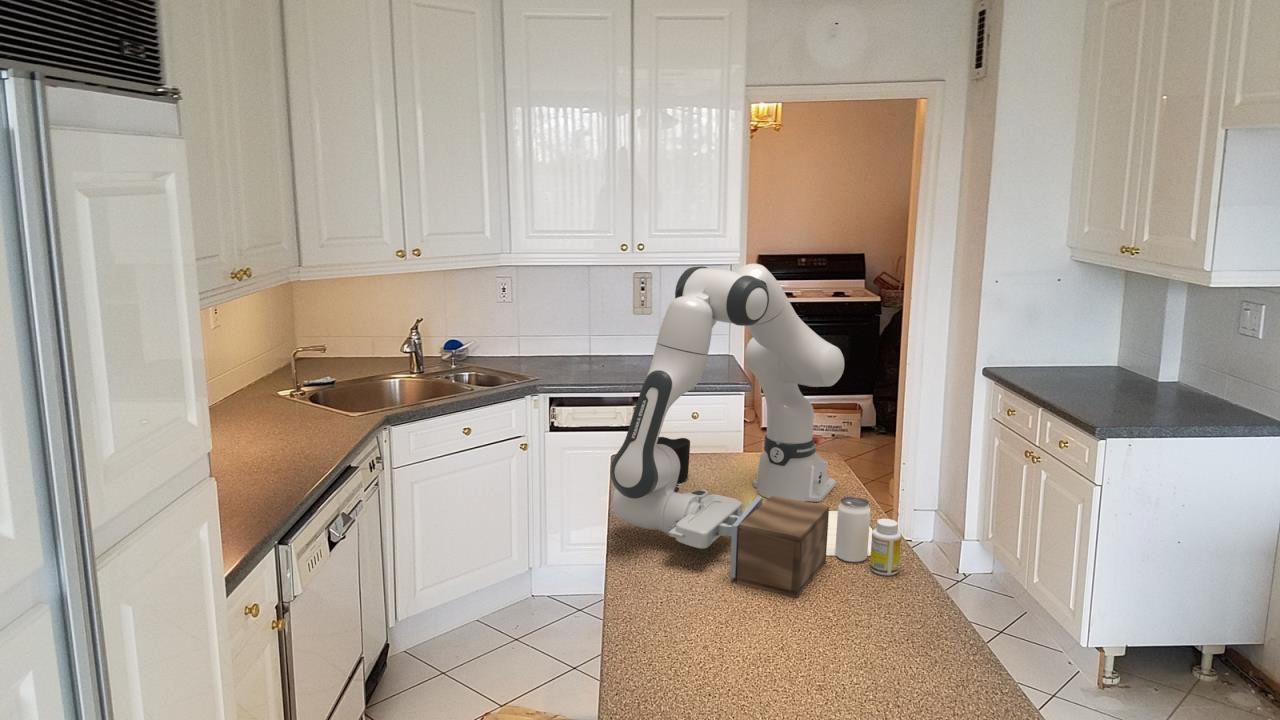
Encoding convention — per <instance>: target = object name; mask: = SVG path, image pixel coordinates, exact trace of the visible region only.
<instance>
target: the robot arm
mask: <svg viewBox="0 0 1280 720" xmlns="http://www.w3.org/2000/svg"><path fill="white" fill-rule="evenodd" d="M676 282H677V283H676V286H675V290H674V291H675V292H674V299H673V300H671V302H670V304H669V305H668V308H667V310H666V312H665V315H664V317H663V319H662V322H661V325H660V329H659V331H658V335H657V339H656V343H655V347H654V348H655V349H654V353H653V357H652V360H651V363H650V367H649V370H648V372H647V375H646V378H645V379H644V381H643V385H642V387H641V390H640V391H639V392H640V393H639V396H638V397H637V398H638V399H637V401H636V405H635V408H634V411H633V414H632V417H631V421H630V423H629V426H628V430H627V433H626V436H625V439H624V442H623V444H622V445H621V447H620V448H619V449H618V451H617V452H616V454H615V455H614V457H613V459H612V460H611V463H610V464H611V465H610V471H609V473H610V479H611V482H612V484H613V486H614V487H615V488H614V491H613V494H612V499H611V500H612V501H611V503H612V504H611V505H612V509H613V512H614V514H615V516H616V518H618V519H619V521H622V522H624V523H626V524H628V525H631V526H635V527H637V528H641V529H645V530H649V531H650V530H651V531H652V530H654V531H655V530H657V531H660V532H662V533H665V534H666V535H668V536H669V537H671V538H675V540H676V541H677V542H678V543H681V544H684V545H687V546H690V547H693V548H696V549H707V548H709V547H710V546H711V545H712V544H713V543H714V542H715V541H716V540H717V539H718V538H720V537H721V536H722V537H730V536H731V537H732V525H733V524H734V523H735V522H736V521H737V519H738V518H739V517H740V516H741V515H742V514H743V502H741V501H740V500H739V499H737V498H734V497H730V496H725V495H722V494H714V493H711V494H709V491H708V490H705V489H698V490H695V491H692V492H691V491H690V492H683V493H681V492H678V491H677V492H674V491H675V488H676V487H677V486H676V485H677V484H678V483H677V482H678V478H679V474H680V469H681V464H680V459H679V457H678V455H677V453H676V452H675V451H674V450H673V449H672V448H671V447H669V446H667V445H665V444H657V441H658V438H659V437H660V434H661V431H662V428H663V425H664V421H665V418H666V416H667V413H668V412H669V409H670V408H671V406H672V405H673V404H674V403H675V402H676V401H677V400H678V399H679V398H681V397H682V396H683V395H685V394H686V393H687V392H689V391H690V390H692V389H693V388H695V386H697V384H698V383H699V381H700V379H701V378H702V375H703V373H704V371H705V367H706V363H707V359H708V355H709V351H710V350H709V349H710V347H711V339H712V333H713V328H714V326H715V325H716V324H717V322H721V323H726V324H734V325H736V326H741V327H743V326H744V327H747V329H748V331H749V332H750V334H751V336H752V338H750V340H749V341H748V342H747V345H746V347H745V351H744V360H745V361H744V362H745V363H746V367H747V368H748V370H749V371H750V372H751V373H752V374H753V375H754V377H756V379H757V381H758V383H759V385H760V387H761V390H762V392H763V396H764V400H765V402H766V404H765V405H766V434H765V436H764V440H763V445H764V446H763V451H764V452H763V453H761V455H760V456H759V461H758V469H757V476H756V479H754V480H753V481H752V486H753V487H755V488H756V491H757V494H759V495H760V496H761V497H763V498H766V499H769V498H770V497H771V496H776V497H782V498H787V499H792V500H798V501H803V502H813V503H814V502H819V503H820V502H822V501H823V500H824V499H825V498H826V497H827V496H828V495H829V493H830V492H831V491H832V490H833V489H834V488H836V487H835V486H836V485H837V480H835V479H834V478H832V477H829V476H828V463H827V462H826V460H825V459H823V458H822V457H821V456H820V455H819V453H817V452H816V451H817V450H816V445H819V444H820V442H821V437H820V436H819V435H814V434H813V433H814V432H813V431H814V418H815V411H814V407H813V405H812V403H811V402H810V400H809V399H808V398H807V397H805V396H804V394H802V392H801V390H800V388H799V386H798V385H801V386H807V387H813V388H815V387H816V388H819V387H832V386H834V385H835V384H836V383H838V381H839V380H840V379H841V377H842V375H843V374H844V370H845V358H844V355H843V353H842V351H841V349H840V348H839V347H838V346H837V345H834V344H832V343H831V342H828V341H826V340H825V339H824V338H822V337H821V336H820V335H819V334H817V333H816V332H815V331H814V330H812V328H810V326H808V325H807V324H806V323H805V322H804V321H803V320H802V319H801V318H800V317H799V315H798V314H797V313H796V311H795V309H794V307H793V306H792V303H791V302H790V300H789V298H788V296H787V295H786V292H785V291H784V289H783V287H782V286H781V285H780V283H779V281H778V280H777V279H776V278H775V277H774V275H773V274H772V273H771V271H769V270H768V268H767V267H765V266H764V265H763V264H759V263H748V264H745V265H743V266H741V267H739V268H738V269H736V271H733V270H729V269H720V268H713V267H712V268H709V267H707V266H703V265H702V266H693V267H689V268H687V269H685V270H684V271H683V272H682V274H681V275H680V277H679V278H678V280H677V281H676Z"/></svg>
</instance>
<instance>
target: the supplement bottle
mask: <svg viewBox="0 0 1280 720" xmlns="http://www.w3.org/2000/svg"><path fill="white" fill-rule="evenodd" d="M898 526H899V523H898V522H897V521H896V520H894V519H892V518H891V519H890V518H879V519H877V520H876V528H874V529H873V530H872V532H871V543H870V544H871V545H870V546H871V547H870V560H869V568H870V570H871V571H872V573H873V572H874V573H875V574H878V575H880V576H894V575H896V574H898V572H899V570H900V557H901V545H902V543H901V542H902V534H901V532H900V530H898V529H899V527H898Z"/></svg>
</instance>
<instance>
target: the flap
mask: <svg viewBox="0 0 1280 720" xmlns="http://www.w3.org/2000/svg"><path fill="white" fill-rule="evenodd" d="M762 504H763V496H758V495H757V497H756V498H755V499H754V500H753V501H752V502H751V503H750V505H748V507H747V508H746V509H745V510H744V512H742V515H741V516H740V517H739V518H738V519H737V521H736V522H735V523H734V524H733V525H732V536H731V544H730V545H731V547H730V568H729V569H730V571H729V573H730V574H729V577H730V578H733V579H735V578H736V579H737V566H738V541H739V524H740V523H741V522H743V521H744V520H745V519H746V518H747V517H748V516H749V515H751V514H752V513H753V512H754V511H755V510H756V509H757V508H759V507H760V506H761V505H762Z"/></svg>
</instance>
